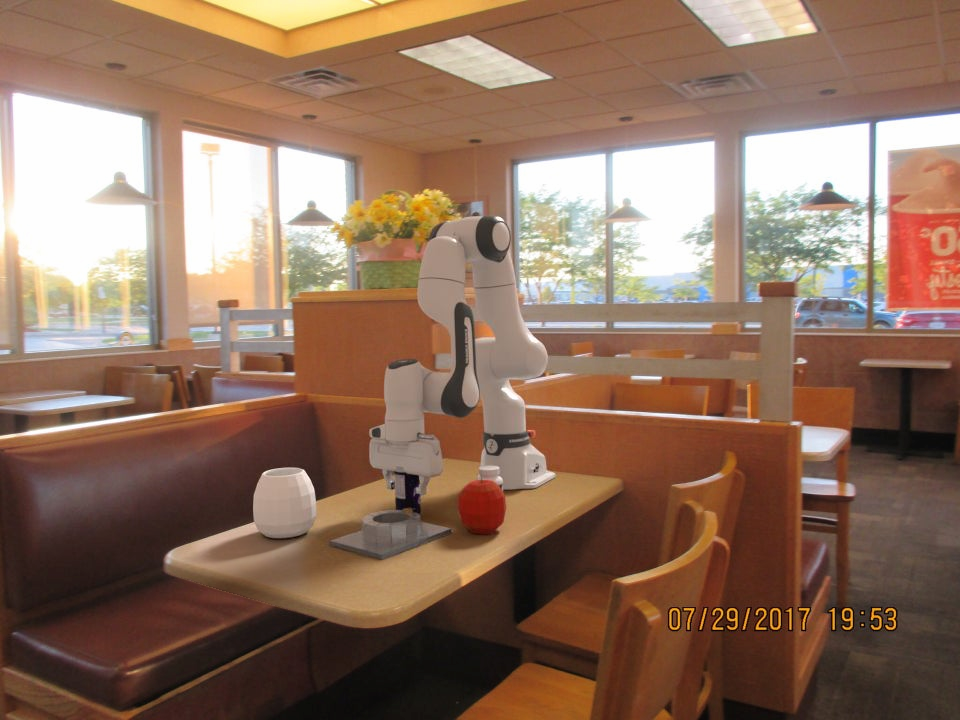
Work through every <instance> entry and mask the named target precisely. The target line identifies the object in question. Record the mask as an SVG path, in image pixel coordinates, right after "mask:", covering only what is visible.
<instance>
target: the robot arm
mask: <svg viewBox="0 0 960 720" xmlns="http://www.w3.org/2000/svg"><path fill="white" fill-rule="evenodd" d="M511 239H512V235H511V231H510V228H509V226H508V224H507V223H506V221H505V220H504V219H503V218H502V217H500V216H497V215H492V214H491V215H489V214H486V215H483V216H480V215H479V216H477V215H475V216H465V217H463V218H458V219H453V220H451V221H450V220H446V221H442V222H439V223H438V224H436V225H435V226H434V227H433V228H432V229H431V230H430V233H429V237H428V242H427V243H426V246H425V249H424V252H423V255H422V257H421V258H422V259H421V263H420V268H419V275H418V281H417V282H418V283H417V291H416V292H417V293H416V295H417V303H418V306H419V308H420V309H421V311H422V312H423V314H425V315H426V316H427V317H429V318H430V319H432V320H433V321H435V322H437V323H440V325H443V327H444V328H446V330H447V331H448V333H449V336H450V351H451V352H450V355H451V369H450V371H449V372H441V371H440V372H438V371H433V370H431V369H428V368H426V367H425V366H423V365H422V364H421V362H420V360H418V359H416V358H403V359H397V360H394V361H391V362H390V363H389V364H387V367H386V369H385V373H384V382H383V383H384V384H383V396H384V397H383V399H384V400H383V401H384V404H385V407H386V408H385V411H386V412H385V415H384V423H383V424H381V425H377V426H374V427H372V428H370V429H369V432H368V433H369V434H368V435H369V437H370V438H371V439H370V441H369V448H368V450H369V451H368V453H369V456H368V457H369V463H370V465H371V468H372V469H377V470H382V472H381V473H382V476H383V478H384V480H385V482H386V489H387V490H391V491H393V490H395V478H394V477H393V476H394V475H393V473H394V471H395V469H396V468H397V467H396V466H398V467H404V468H403V469H404V471H405V472H406V473H408V474H413V475H419V480H420V485H419V486H418V487H416V494H417V495H420V496H425V495H427V486H428V484H429V483H430V480H431V478H434V477H439V476H441V475H442V474H443V471H444V463H443V454H442V450H441V444H440V443H441V442H440V440H439V439H438V438H437V437H436V436H435V435H434V434H432V433H431V434H430V433H429V434H428V433H425V416H424V413H430V414H435V415H437V414H438V415H446V416H450V417H455V418H458V419H459V418H460V419H463V418H466V417H468V416H469V415H470V414H471V413H473V411H474V410H475V409H476V408H477V406H478V405H479V402H480V399H481V402H482V403H481V404H482V412H483V429H484V430H483V432H482V438H481V439H482V446H483V449H482V450H481V456H480V467H482V466H498V467H499V474H498V476H500V477H501V478H502V480H503V490H519V489H536V488H538V487H540V486H542V485H544V484H546V483H547V482H549V481H551V480H553V479H555V478H556V477H557V476H556V473H555V472H553V471H550V470H548V469H547V461H546V460H547V459H546V456H545V455H544V454H543V453H542V452H541V451H539V450H538V449H537V448H536V447H534V445H532V443H531V439H530V438H533V439H534V438H535V437H536V434H537V433H536V432H537V431H535V429H534V430H533V429H531V430H530V429H528V430H527V426H526V425H527V424H526V421H527V420H526V403H525V401H524V399H523V398H522V397H521V395H520V394H518V393H516V392H515V391H514V388H512V386H511V383H510V380H517V381H519V380H520V381H524V380H530V379H535V378H538V377H540V376H542V375H543V374H544V372H545V370H546V368H547V367H548V363H549V357H548V356H549V355H548V351H547V349H546V346H545V345H544V343H542V341H540V340H538V339H537V338H536V336H534V335H533V334H532V332H531V331H530V329H528V326H527V325H526V322H525V321H524V318H523V316H522V312H521V308H520V304H519V297H518V296H519V295H518V289H517V282H516V281H517V280H516V274H515V268H514V263H513V260H512V256H511V252H510V251H509V249H510V247H511V241H512V240H511ZM467 264H470V265H471V266H472V283H473V285H472V286H473V293H474V301H475V311H476V316H477V318H478V319H479V321H481V322H482V323H483V324H485V325H486V326H488V328H489V329H490V330H491V332H492V334H493V337H492V336H491V337H487V336H486V337H485V336H484V337H478V338H476V334H475V333H476V329H475V328H476V327H475V319H474V313H473V310H472V309H471V307H470V306H469V305H468V304H467V300H466V292H465V288H466V287H465V286H466V275H467V274H466V270H467V268H466V265H467ZM479 476H480V474H478V476H477V478H478V477H479Z"/></svg>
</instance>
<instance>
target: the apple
mask: <svg viewBox="0 0 960 720" xmlns="http://www.w3.org/2000/svg"><path fill="white" fill-rule="evenodd" d="M457 497H458V500H457V509H458V513H459V517H460V521H461V523H462V525H463V526H464V527H465V528H466V529H468V530H469V531H470V532H471V533H473V534H478V535H479V534H480V535H485V534H486V535H487V534H493V533H494V532H496V531H497V530H498V528H500V526H502V525H503V523H504V522H505V515H506V511H507V502H506V494H505V493H504V490H503V491H502V489H501V488H500V486H499V485H498V484H496V483H495V482H493V481H491V480H482V478H481V480H477V481H476V480H471V481H470V482H469V483H467V484H466V485H465V486H464V487H463V488H462V489H461V492H459V494H458V496H457Z"/></svg>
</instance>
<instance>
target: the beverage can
mask: <svg viewBox="0 0 960 720" xmlns="http://www.w3.org/2000/svg"><path fill="white" fill-rule="evenodd" d="M396 467H397V468H396V469H395V471H393V473H394V475H393V476H394V481H395V489H394V492H395V493H394V496H395V499H394V500H395V510H403V509H406V508H412V512H416V513H418V514H419V515H421V512H422V507H421V506H422V505H421V504H422V503H421V501H422V500H421V495H417V494H416V487H418V486H419V485H420V482H421V480H419V475H413V474H408V473H406V472H405V471H404V469H403V468H404V467H398V466H396Z"/></svg>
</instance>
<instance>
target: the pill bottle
mask: <svg viewBox="0 0 960 720" xmlns="http://www.w3.org/2000/svg"><path fill="white" fill-rule="evenodd" d="M498 474H499V467H498V466H482V467H481V466H479V467H478V476H479V475H480V476H479V477H478V476H477V478H476V479H475V481H477V480H481V478H482V480H491V481H493V482H495V483H496V484H498V485H499V486H500V488H501V489H502V491H503V492H504V489H503V480H502V478H501V477H500V476H498Z"/></svg>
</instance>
